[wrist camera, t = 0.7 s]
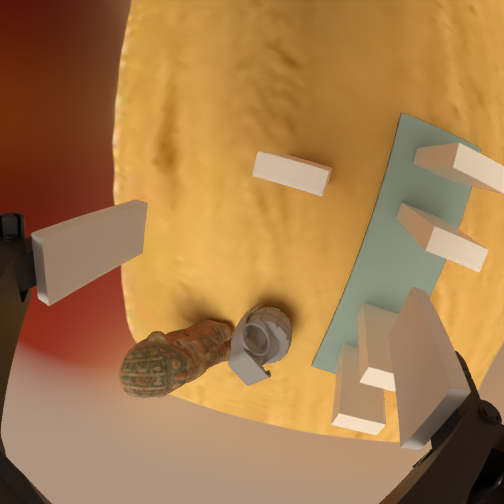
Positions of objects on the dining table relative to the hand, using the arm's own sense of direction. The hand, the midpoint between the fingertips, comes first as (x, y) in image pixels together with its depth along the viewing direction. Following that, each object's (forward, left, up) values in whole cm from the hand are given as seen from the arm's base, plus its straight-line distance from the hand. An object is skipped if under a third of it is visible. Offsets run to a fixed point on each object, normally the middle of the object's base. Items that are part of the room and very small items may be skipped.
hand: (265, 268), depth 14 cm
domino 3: (+15, +12, -20) cm, 27 cm away
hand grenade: (+14, 0, -20) cm, 25 cm away
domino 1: (-4, -1, -20) cm, 21 cm away
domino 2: (+9, +12, -20) cm, 25 cm away
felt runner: (+3, +12, -20) cm, 23 cm away
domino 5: (-3, +12, -20) cm, 23 cm away
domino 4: (-9, +12, -20) cm, 24 cm away
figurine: (+19, -8, -20) cm, 29 cm away
